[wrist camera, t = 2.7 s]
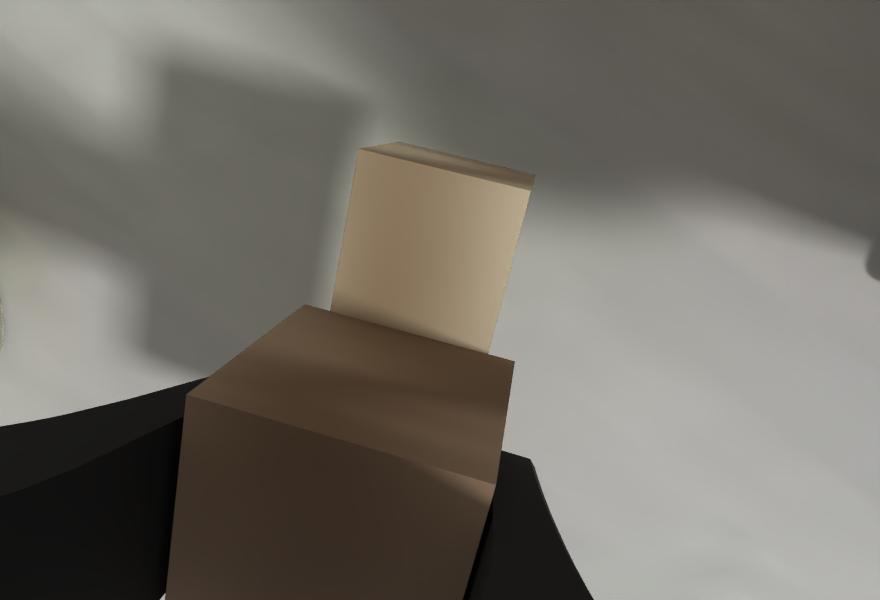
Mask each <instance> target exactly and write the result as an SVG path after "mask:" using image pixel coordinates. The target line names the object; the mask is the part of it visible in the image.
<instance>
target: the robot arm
mask: <svg viewBox="0 0 880 600" xmlns="http://www.w3.org/2000/svg"><path fill="white" fill-rule="evenodd" d="M207 378H209V377H206V378H203V379H199V380H195V381H192V382H188V383H185V384H181V385H178V386H174V387H171V388H167V389H163V390H160V391H156V392H153V393H149V394H146V395H142V396H139V397H135V398H131V399H128V400H124V401H119V402H115V403H111V404H107V405H103V406H99V407H95V408H91V409H86V410H82V411H78V412H74V413H70V414H66V415H61V416H56V417H51V418H46V419H41V420H36V421H31V422H25V423H19V424H13V425H7V426H1V427H0V600H160V598H161V597H162V596H163V595H164V594H165V593H166V587H167V577H168V567H169V557H170V548H171V538H172V528H173V519H174V509H175V499H176V490H177V480H178V470H179V461H180V451H181V441H182V431H183V422H184V412H185V402H186V394H188V393H189V392H190V391H192V390H193V389H194V388H195V387H197V386H198V385H199V384H201V383H202V382H203V381H205V380H206V379H207ZM463 600H594V599H593V598H592V596H591V594H590V593H589V591H588V589H587V587H586V585H585V583H584V582H583V580H582V578H581V576H580V574H579V572H578V570H577V569H576V567H575V565H574V563H573V561H572V559H571V557H570V555H569V553H568V551H567V549H566V547H565V544H564V542H563V540H562V538H561V535H560V533H559V531H558V529H557V527H556V524H555V522H554V520H553V517H552V515H551V513H550V510H549V508H548V505H547V502H546V500H545V497H544V495H543V492H542V489H541V486H540V483H539V480H538V477H537V474H536V471H535V467H534V465H533V463H532V462H531V460H530V459H528V458H525V457H522V456H518V455H515V454H512V453H508V452H505V451H502V450H501V455H500V462H499V469H498V475H497V482H496V487H495V490H494V494H493V497H492V501H491V504H490V507H489V511H488V514H487V518H486V521H485V525H484V528H483V532H482V535H481V538H480V542H479V545H478V549H477V552H476V556H475V559H474V563H473V566H472V570H471V573H470V576H469V580H468V583H467V587H466V590H465V594H464V597H463Z"/></svg>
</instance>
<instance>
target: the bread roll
mask: <svg viewBox="0 0 880 600" xmlns="http://www.w3.org/2000/svg"><path fill="white" fill-rule="evenodd" d="M4 331H5V327H4V319H3V310H2V304H1V300H0V350H1V348H2V345H3V342H4Z"/></svg>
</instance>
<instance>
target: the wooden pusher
mask: <svg viewBox="0 0 880 600" xmlns="http://www.w3.org/2000/svg"><path fill="white" fill-rule="evenodd" d="M534 178H535V175H533V174H529V173H525V172H521V171H516V170H512V169H508V168H504V167H500V166H496V165H492V164H488V163H483V162H479V161H475V160H471V159H467V158H463V157H459V156H454V155H450V154H446V153H442V152H438V151H434V150H430V149H425V148H421V147H417V146H413V145H409V144H405V143H401V142H397V143H391V144H385V145H379V146H373V147H367V148H361V149H359V150H358V156H357V162H356V167H355V173H354V179H353V185H352V190H351V196H350V202H349V207H348V213H347V219H346V225H345V230H344V236H343V242H342V247H341V253H340V259H339V265H338V270H337V276H336V282H335V287H334V293H333V299H332V305H331V310H330V311H327V310H324V309H320V308H316V307H312V306H309V305H303V306H302V307H301V308H299V309H298V310H297V311H296V312H294V313H293V314H292V315H290V316H289V317H288V318H286V319H285V320H284V321H282V322H281V323H280V324H278V325H277V326H276V327H274V328H273V329H272V330H270V331H269V332H268V333H267V334H265V335H264V336H263V337H261V338H260V339H259V340H257V341H256V342H255V343H253V344H252V345H251V346H249V347H248V348H247V349H245V350H244V351H243V352H242V353H240V354H239V355H238V356H236V357H235V358H234V359H232V360H231V361H230V362H228V363H227V364H226V365H224V366H223V367H222V368H220V369H219V370H218V371H217V372H215V373H214V374H213V375H211V376H210V377H209V378H207V379H206V380H205V381H203V382H202V383H201V384H199V385H198V386H197V387H195V388H194V389H193V390H192V391H190V392H189V393H188V394H186V402H185V412H184V422H183V431H182V441H181V451H180V461H179V470H178V480H177V490H176V499H175V509H174V519H173V528H172V538H171V548H170V557H169V567H168V577H167V587H166V596H165V600H463V597H464V594H465V590H466V587H467V583H468V580H469V576H470V573H471V570H472V566H473V563H474V559H475V556H476V552H477V549H478V545H479V542H480V538H481V535H482V532H483V528H484V525H485V521H486V518H487V514H488V511H489V507H490V504H491V501H492V497H493V494H494V490H495V487H496V482H497V475H498V469H499V462H500V455H501V449H502V442H503V436H504V429H505V422H506V416H507V409H508V402H509V396H510V389H511V383H512V376H513V369H514V363H515V361H511V360H507V359H504V358H500V357H496V356H493V355H489V354H488V352H489V348H490V344H491V341H492V337H493V333H494V329H495V326H496V322H497V318H498V314H499V310H500V307H501V303H502V299H503V295H504V292H505V288H506V284H507V280H508V276H509V273H510V269H511V265H512V261H513V258H514V254H515V250H516V246H517V242H518V239H519V235H520V231H521V227H522V224H523V220H524V216H525V212H526V208H527V205H528V201H529V197H530V193H531V190H532V186H533V182H534Z"/></svg>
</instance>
